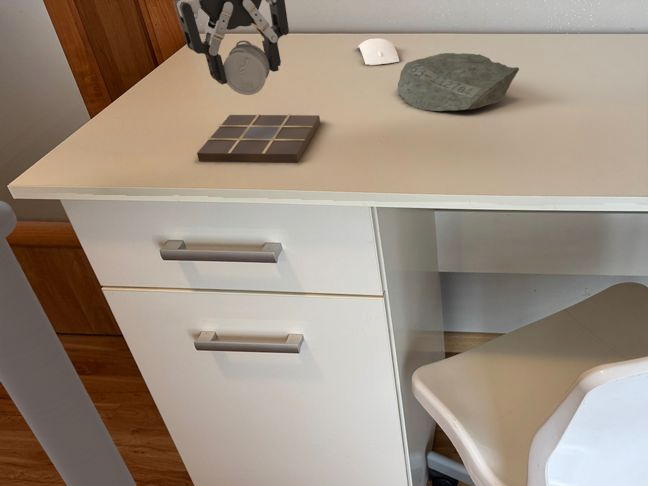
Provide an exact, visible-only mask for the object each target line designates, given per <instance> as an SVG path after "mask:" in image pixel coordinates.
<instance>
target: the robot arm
mask: <svg viewBox="0 0 648 486" xmlns="http://www.w3.org/2000/svg"><path fill="white" fill-rule="evenodd" d="M262 1H263V0H175V2H174V7H175V10H176V13H177V17H178V20H179V23H180V27H181V29H182V33H183V35H184V39H185V42H186V43H185V44H186V46H187V48H188V49H189V50H191V51H193V52H194V53H196V54H198V55H201V54H203V55H204V56H205V59H206V63H207V67H208V70H209V71H208V72H209V76H211V78H212V79H213V80H214V81H216V82H217V83H219V84H220V85H226V84H227V79H226V75H225V71H224V67H223V64H224V61H223V58H222V55H221V54H219V50H220V47H221V44H222V43H221V42H222V41H223V39H225V35H226V32H227V30H228V31H231V30H235V29H237V28H239V27H251V26H252V27H254V29H255V30H256V31H257V32H258V33H259V35H260V36H261V37H262V38H263V40H262V42H261V43H262V48H263V52H264V53H265V54H266V56H267V58H268V60H269V64H270V71H271V72H272V73H275V72H278V71H280V70H279V66H281V65H282V64H281V63H282V60H281V55H280V49H279V44H278V43H279V40H280V38H281V37H283V36H287V35H288V34H289V32H290V27H289V21H288V14H287V8H286V0H265V2H266V3H267V4H268V6H269V12H270V19H271V24H272V25H271V26H270V24H269V22H268V21H267V19H266V18H265V17H264V15H262V13H261V12H260V11H259V9H260V7H261V5H262ZM200 9H201V11H203V12H204V13H205V15H207V18H206V22H205V26H204V36H203V40H202V37H201V35H200V32H199V28H198V24H197V21H196V19H198V18H199V10H200Z"/></svg>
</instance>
